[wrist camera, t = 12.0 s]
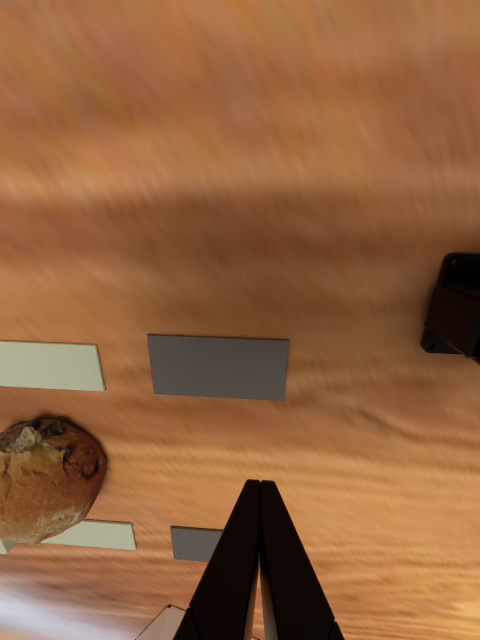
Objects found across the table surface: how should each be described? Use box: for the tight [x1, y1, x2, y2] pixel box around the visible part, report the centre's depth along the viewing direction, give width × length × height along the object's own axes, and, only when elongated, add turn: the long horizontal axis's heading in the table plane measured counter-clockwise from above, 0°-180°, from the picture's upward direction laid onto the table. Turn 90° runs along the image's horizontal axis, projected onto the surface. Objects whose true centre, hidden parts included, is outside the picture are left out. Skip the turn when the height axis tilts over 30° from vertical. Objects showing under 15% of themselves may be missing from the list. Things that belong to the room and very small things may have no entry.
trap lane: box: [0, 334, 289, 562], centre depth 25 cm, size 28×26×2 cm
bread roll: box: [0, 419, 106, 545], centre depth 24 cm, size 10×10×8 cm
